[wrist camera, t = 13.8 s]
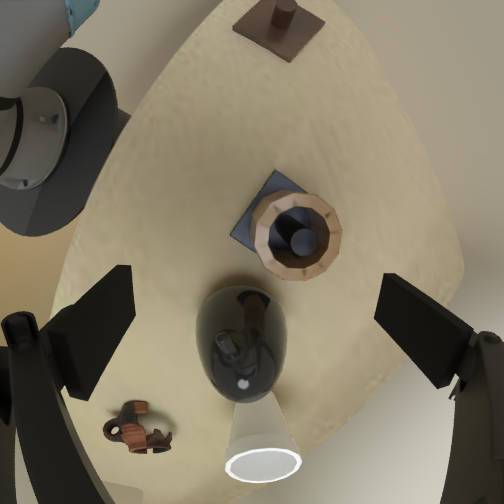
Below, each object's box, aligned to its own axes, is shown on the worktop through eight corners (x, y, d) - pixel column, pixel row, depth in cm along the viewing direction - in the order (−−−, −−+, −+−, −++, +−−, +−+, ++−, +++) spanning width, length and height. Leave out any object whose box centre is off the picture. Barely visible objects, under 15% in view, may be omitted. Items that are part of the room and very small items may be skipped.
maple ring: (236, 234, 32) (237, 249, 25) (277, 176, 30) (290, 175, 24) (292, 272, 33) (307, 295, 27) (332, 217, 32) (356, 227, 25)
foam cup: (247, 370, 38) (253, 440, 25) (297, 391, 39) (316, 455, 27) (214, 408, 39) (211, 473, 27) (263, 425, 41) (271, 487, 29)
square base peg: (229, 233, 33) (228, 256, 23) (274, 169, 31) (292, 165, 22) (291, 274, 34) (312, 310, 25) (334, 215, 33) (372, 229, 23)
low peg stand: (232, 30, 26) (232, 7, 21) (270, -6, 25) (275, -28, 20) (289, 62, 28) (299, 44, 23) (323, 25, 27) (336, 5, 21)
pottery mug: (161, 396, 39) (171, 443, 33) (170, 412, 45) (179, 452, 39) (93, 402, 35) (98, 448, 29) (111, 418, 41) (116, 457, 36)
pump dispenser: (265, 260, 34) (289, 321, 19) (289, 331, 36) (318, 412, 22) (186, 287, 34) (158, 360, 19) (217, 354, 37) (212, 439, 22)
